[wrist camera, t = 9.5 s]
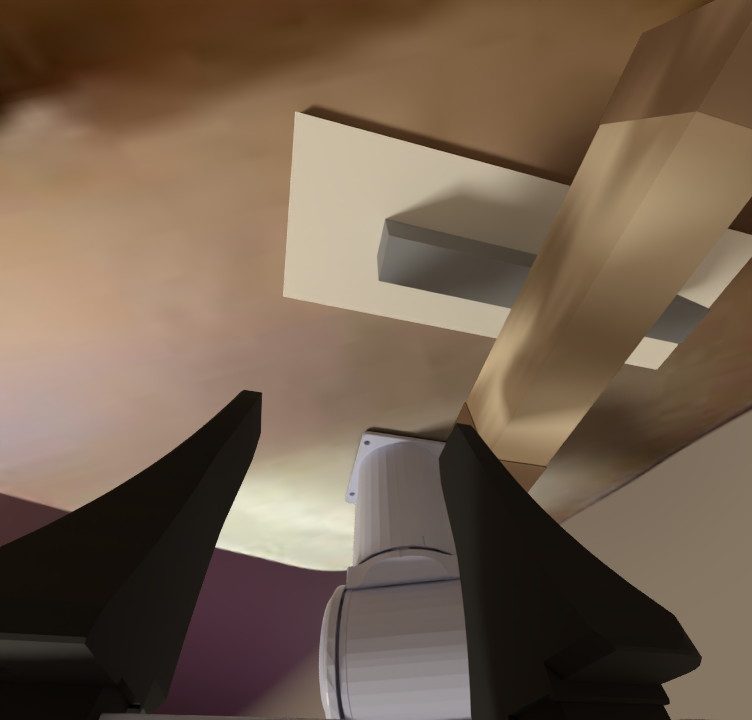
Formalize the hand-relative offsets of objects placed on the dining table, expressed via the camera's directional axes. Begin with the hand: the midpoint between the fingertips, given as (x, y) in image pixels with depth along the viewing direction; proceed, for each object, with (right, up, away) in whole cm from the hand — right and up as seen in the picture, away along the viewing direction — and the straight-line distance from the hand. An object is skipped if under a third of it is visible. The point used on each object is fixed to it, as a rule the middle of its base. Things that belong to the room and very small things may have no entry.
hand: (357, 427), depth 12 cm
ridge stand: (+9, +8, +7) cm, 14 cm away
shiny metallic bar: (+9, +5, +3) cm, 11 cm away
